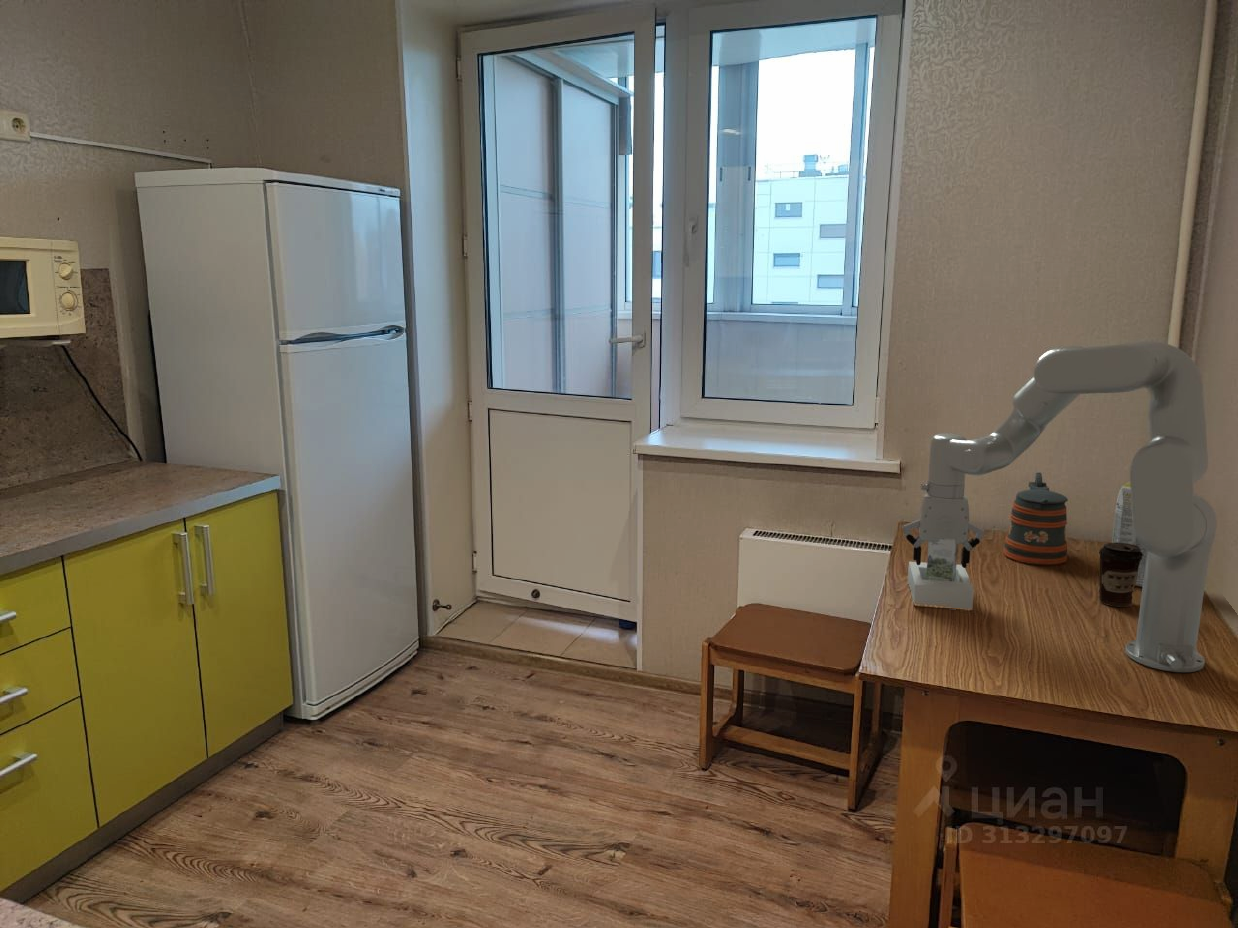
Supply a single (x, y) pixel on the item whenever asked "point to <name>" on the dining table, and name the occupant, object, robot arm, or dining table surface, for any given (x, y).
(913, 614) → the dining table surface
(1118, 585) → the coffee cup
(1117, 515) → the juice carton
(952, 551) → the syrup box
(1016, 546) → the beer stein
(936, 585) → the socket block
